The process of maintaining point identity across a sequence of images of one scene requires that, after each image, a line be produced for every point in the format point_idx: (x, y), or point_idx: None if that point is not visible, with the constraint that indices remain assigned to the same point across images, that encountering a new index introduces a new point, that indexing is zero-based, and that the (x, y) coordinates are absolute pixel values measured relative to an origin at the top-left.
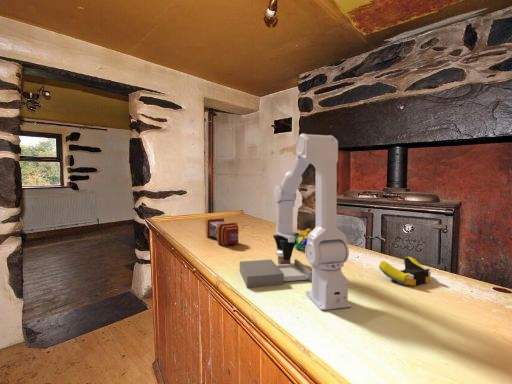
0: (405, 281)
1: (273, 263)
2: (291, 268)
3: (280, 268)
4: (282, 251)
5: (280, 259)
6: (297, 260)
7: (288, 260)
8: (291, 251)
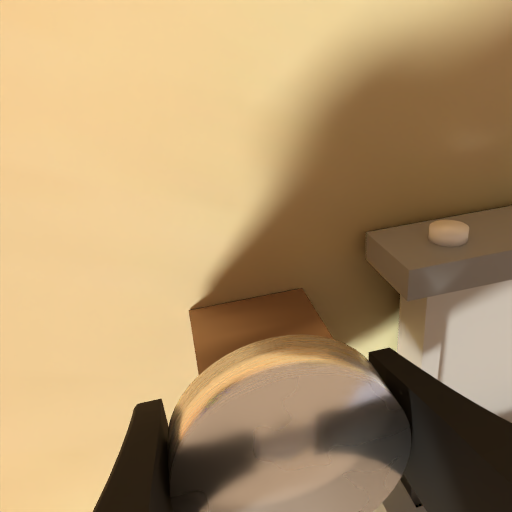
0: None
1: None
2: (473, 314)
3: None
4: (324, 493)
5: None
6: (456, 271)
7: None
8: (486, 421)
